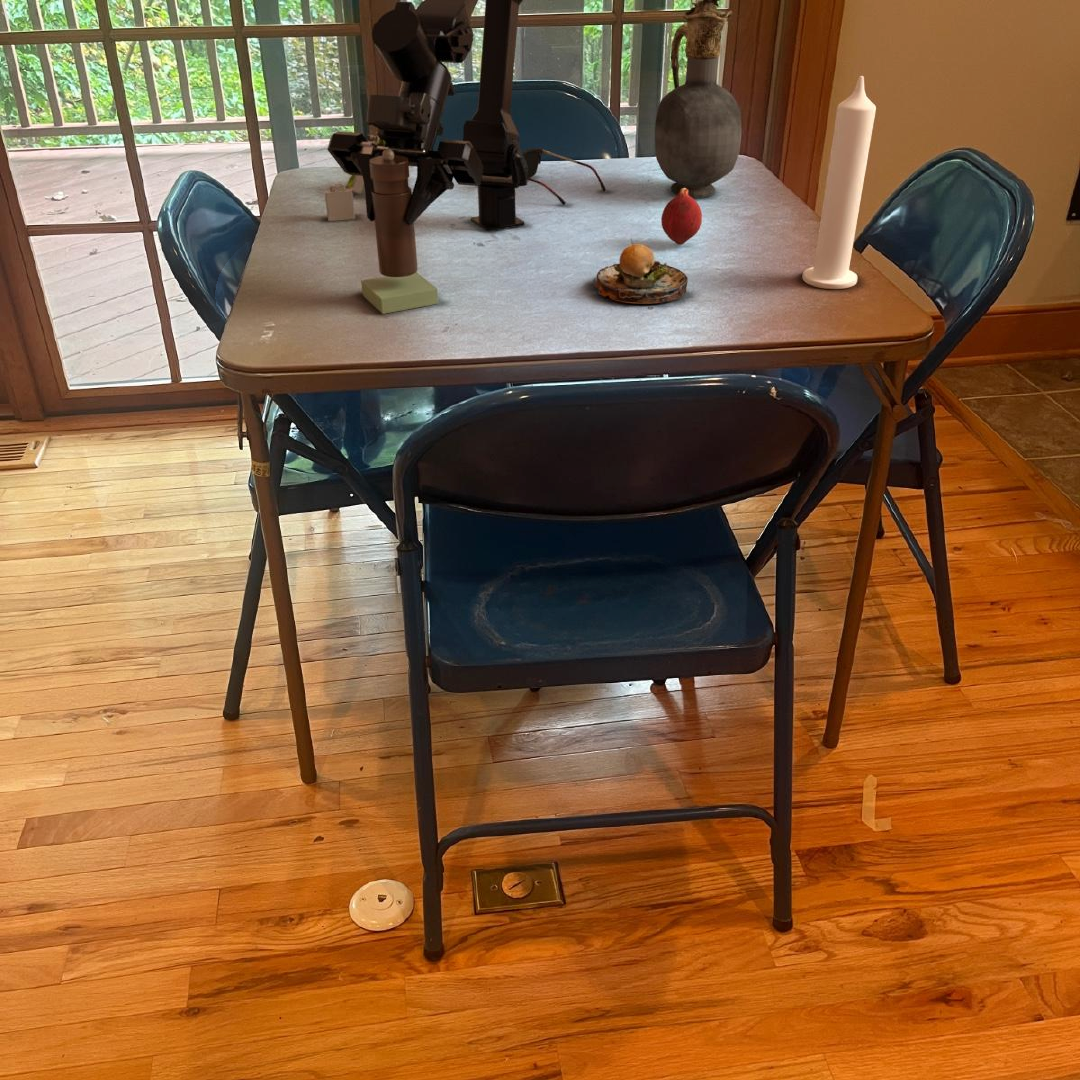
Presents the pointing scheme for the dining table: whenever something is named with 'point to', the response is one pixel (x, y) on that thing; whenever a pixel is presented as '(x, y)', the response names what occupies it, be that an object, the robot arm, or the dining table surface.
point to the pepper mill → (393, 215)
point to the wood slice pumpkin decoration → (641, 278)
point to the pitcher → (698, 109)
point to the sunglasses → (535, 158)
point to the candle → (843, 192)
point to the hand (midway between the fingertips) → (388, 221)
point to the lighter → (342, 200)
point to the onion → (681, 218)
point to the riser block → (399, 292)
